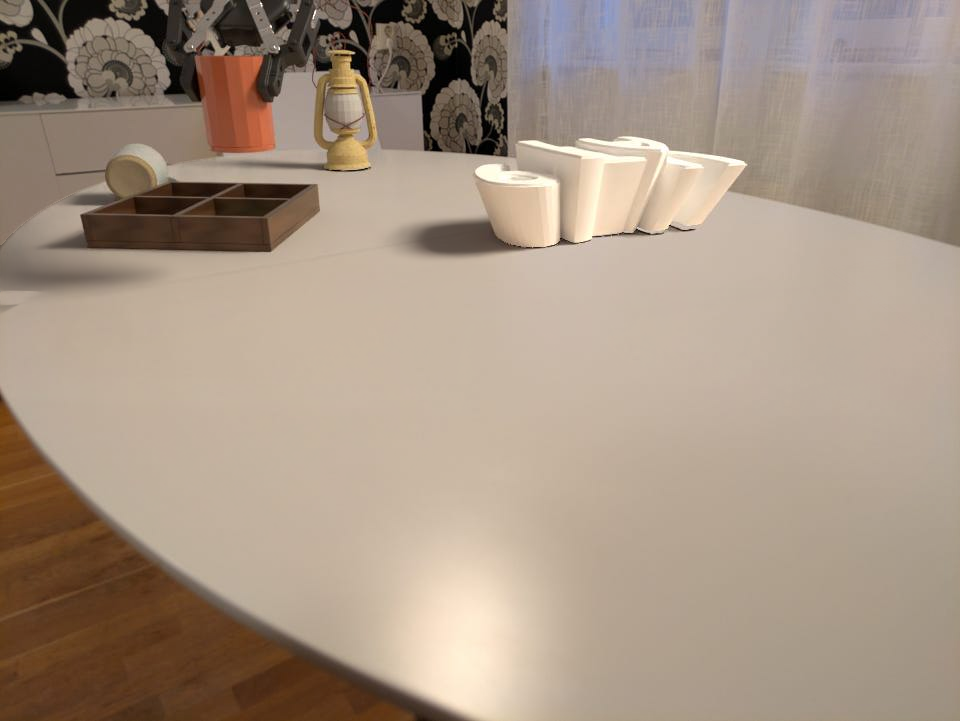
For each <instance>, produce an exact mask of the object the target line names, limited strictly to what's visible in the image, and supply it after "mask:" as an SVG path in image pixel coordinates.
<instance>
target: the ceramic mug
mask: <svg viewBox="0 0 960 721" xmlns="http://www.w3.org/2000/svg"><path fill="white" fill-rule="evenodd" d="M104 179H105V183H106V185H107V187H108V189H109V191H110V192H111V193H113V195H115V196H116V197H117V198H119V200H120V199H123V198H126V197H128V196H131V195H133V194H136V193H139V192H141V191H144V190H147V189H149V188H152V187H155V186H157V185H160V184H163V183H165V182H168V181H173V182H182V181H181V180H179V179H177V178H175V177H173V176H171V175H169V169H168V165H167V162H166V161H165V159H164V157H163V156H162V154H160V153H159V152H158V151H157V150H156V149H154V148H153V147H151V146H149V145H146V144H143V143H129V144H126V145H124V146H122V147H120V148H119V149H118V150H117V151H116V153H114V154H113V156H112V157H111V158H110V159H109V161H108V162H107V164H106V166H105V170H104Z"/></svg>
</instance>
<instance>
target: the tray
mask: <svg viewBox="0 0 960 721" xmlns="http://www.w3.org/2000/svg"><path fill="white" fill-rule="evenodd" d="M319 195H320V194H319V185H318V183H280V182H279V183H277V182H275V183H274V182H273V183H272V182H228V181H227V182H222V181H221V182H220V181H181V182H173V181H168V182H165V183H163V184H160V185H157V186H155V187H152V188H149V189H147V190H144V191H141V192H139V193H136V194H133V195H131V196H128V197H126V198H123V199H120V198H119V199H118V200H115V201H112V202H110V203H107V204H105V205H101V206H99V207H96V208H94V209H91V210H89V211H86V212H83V213H80V214H79V216H80V217H79V218H80V221H81V224H82V229H83V233H84V238H85V241H86V245H87V246H86V247H87V248H93V247H94V248H97V249H100V248H101V249H141V250H144V249H147V250H190V251H193V250H194V251H197V250H198V251H237V252H238V251H239V252H273V251H274V250H275V249H276V248H277V247H278V246H279V245H281V244H282V243H283V242H284V241H286V240H287V239H288V238H289V237H291V236H292V235H293V234H294V233H295V232H296V231H298V230H299V229H300V228H301V227H303V226H304V225H305V224H306V223H308V222H309V221H310V220H311V219H312V218H314V217H315V216H316V215H317V214H318V213H319V212H321V208H320V196H319ZM94 248H93V249H94Z"/></svg>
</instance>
